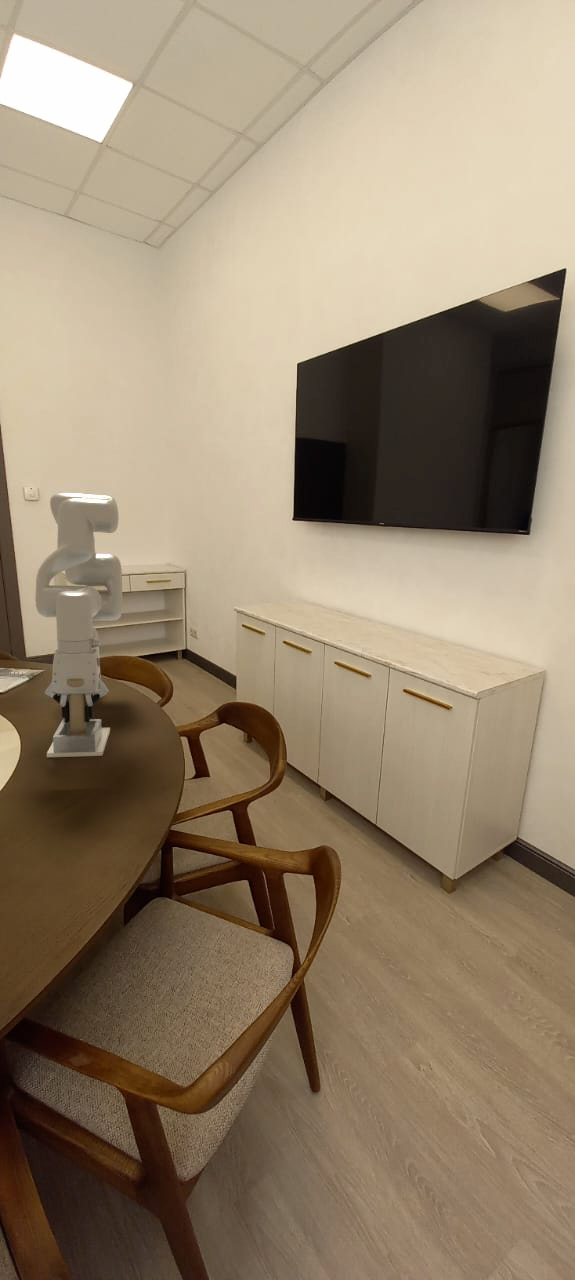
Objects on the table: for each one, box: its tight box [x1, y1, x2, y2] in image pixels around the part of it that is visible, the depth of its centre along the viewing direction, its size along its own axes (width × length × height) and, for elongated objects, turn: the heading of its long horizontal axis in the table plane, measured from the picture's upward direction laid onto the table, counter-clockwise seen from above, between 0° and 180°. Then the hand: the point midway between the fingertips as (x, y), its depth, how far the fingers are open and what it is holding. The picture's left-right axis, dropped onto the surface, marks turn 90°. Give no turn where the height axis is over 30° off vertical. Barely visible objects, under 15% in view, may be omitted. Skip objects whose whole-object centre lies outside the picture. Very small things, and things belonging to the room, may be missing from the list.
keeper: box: [46, 718, 111, 758], centre depth 124 cm, size 14×12×9 cm
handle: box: [67, 680, 87, 735], centre depth 121 cm, size 5×6×15 cm
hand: (78, 719), depth 122 cm, fingers closed on handle, 3 cm apart
